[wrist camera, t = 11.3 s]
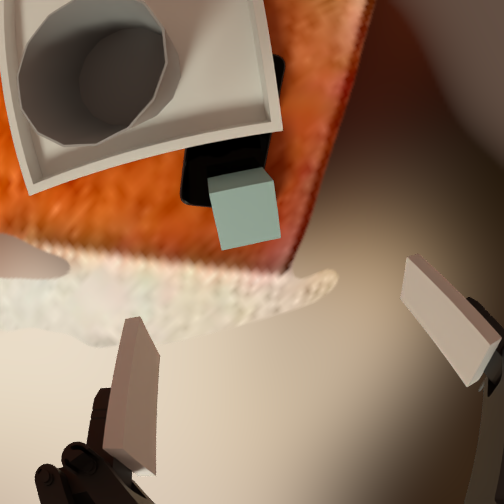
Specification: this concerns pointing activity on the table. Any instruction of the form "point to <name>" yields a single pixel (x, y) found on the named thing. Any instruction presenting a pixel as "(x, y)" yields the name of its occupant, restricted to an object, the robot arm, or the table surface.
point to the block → (244, 207)
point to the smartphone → (224, 157)
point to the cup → (96, 71)
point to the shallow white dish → (185, 98)
